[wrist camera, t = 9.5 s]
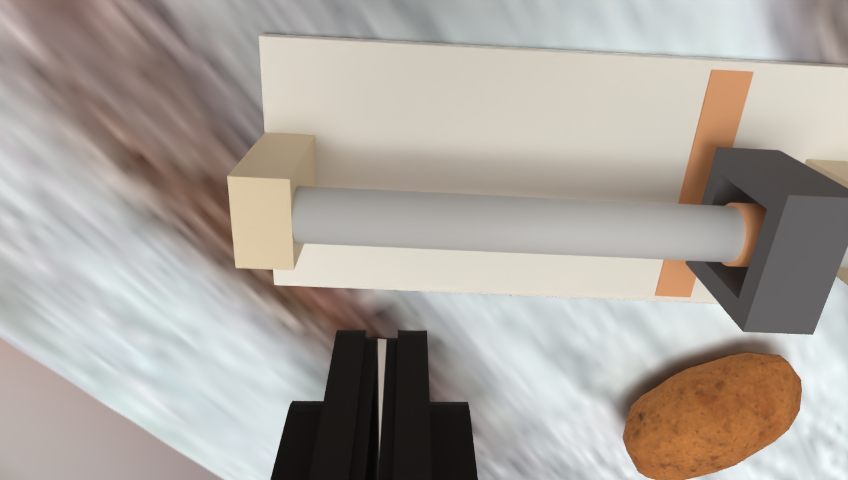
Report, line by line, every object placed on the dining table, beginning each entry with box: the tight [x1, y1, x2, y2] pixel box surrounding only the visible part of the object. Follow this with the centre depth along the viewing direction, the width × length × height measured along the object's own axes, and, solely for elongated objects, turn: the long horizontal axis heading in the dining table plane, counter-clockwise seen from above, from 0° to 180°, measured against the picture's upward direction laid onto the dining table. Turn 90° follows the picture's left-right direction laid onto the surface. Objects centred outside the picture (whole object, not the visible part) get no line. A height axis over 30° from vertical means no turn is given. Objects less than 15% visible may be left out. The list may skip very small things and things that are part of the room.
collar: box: [685, 147, 848, 335], centre depth 32 cm, size 7×4×7 cm, turn 177°
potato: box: [623, 353, 802, 480], centre depth 43 cm, size 7×13×7 cm, turn 116°
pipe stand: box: [227, 34, 848, 304], centre depth 35 cm, size 16×36×9 cm, turn 87°
